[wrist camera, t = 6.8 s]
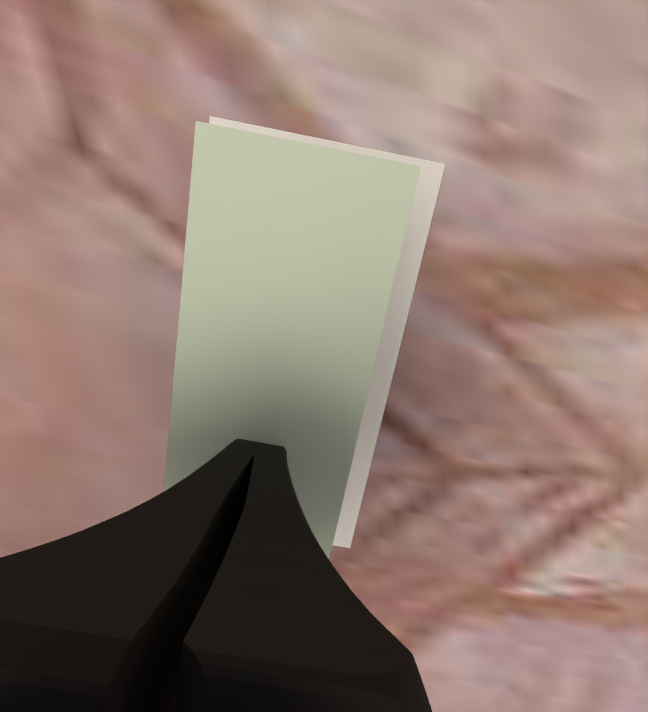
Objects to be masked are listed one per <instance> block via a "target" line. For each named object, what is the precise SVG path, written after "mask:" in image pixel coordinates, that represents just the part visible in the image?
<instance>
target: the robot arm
mask: <svg viewBox="0 0 648 712" xmlns="http://www.w3.org/2000/svg"><path fill="white" fill-rule="evenodd" d="M0 712H432V710H431V706H430V703H429V700H428V697H427V694H426V691H425V688H424V685H423V682H422V679H421V676H420V674H419V671H418V668H417V665H416V662H415V660H414V657H413V655H412V653H411V652H410V651H409V650H408V649H407V648H406V647H405V646H404V645H403V644H402V643H401V642H400V641H399V640H398V639H397V638H396V637H395V636H394V635H393V634H392V633H391V632H390V631H388V630H387V629H386V628H385V627H384V626H383V625H382V624H381V623H380V622H379V621H378V620H377V619H376V618H375V617H374V616H373V615H372V614H371V613H370V612H369V611H368V609H367V608H366V607H365V606H364V605H363V604H362V602H361V601H360V600H359V599H358V598H357V597H356V596H355V594H354V593H353V592H352V591H351V590H350V588H349V587H348V586H347V584H346V583H345V581H344V580H343V579H342V577H341V576H340V575H339V573H338V572H337V571H336V569H335V568H334V567H333V565H332V564H331V562H330V561H329V559H328V558H327V556H326V554H325V553H324V551H323V550H322V548H321V546H320V545H319V543H318V541H317V539H316V537H315V536H314V534H313V532H312V530H311V528H310V526H309V524H308V522H307V520H306V518H305V515H304V513H303V511H302V508H301V506H300V503H299V501H298V498H297V496H296V493H295V490H294V487H293V483H292V480H291V477H290V473H289V468H288V463H287V451H286V449H285V448H284V446H278V445H272V444H267V443H261V442H255V441H250V440H244V439H238V438H237V439H236V440H234V441H233V442H231V443H230V444H229V445H228V446H226V447H225V448H224V449H223V450H222V451H220V452H219V453H218V454H217V455H215V456H214V457H213V458H212V459H210V460H209V461H208V462H206V463H205V464H204V465H202V466H201V467H200V468H198V469H197V470H195V471H194V472H193V473H191V474H190V475H189V476H187V477H186V478H184V479H183V480H181V481H179V482H178V483H176V484H175V485H173V486H172V487H170V488H169V489H167V490H166V491H164V492H162V493H161V494H159V495H157V496H156V497H154V498H152V499H150V500H148V501H146V502H144V503H142V504H141V505H139V506H137V507H135V508H133V509H131V510H129V511H127V512H125V513H122V514H120V515H118V516H115V517H113V518H111V519H108V520H106V521H104V522H101V523H99V524H97V525H94V526H92V527H90V528H87V529H85V530H82V531H80V532H77V533H75V534H72V535H69V536H66V537H64V538H61V539H58V540H55V541H52V542H50V543H46V544H43V545H40V546H37V547H34V548H31V549H28V550H25V551H22V552H18V553H15V554H12V555H8V556H5V557H1V558H0Z"/></svg>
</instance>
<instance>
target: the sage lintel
mask: <svg viewBox="0 0 648 712" xmlns="http://www.w3.org/2000/svg"><path fill="white" fill-rule="evenodd" d="M420 168H421V166H416V165H411V164H406V163H401V162H396V161H391V160H386V159H381V158H376V157H372V156H367V155H362V154H357V153H352V152H347V151H342V150H337V149H332V148H327V147H322V146H317V145H312V144H307V143H302V142H298V141H293V140H288V139H283V138H278V137H273V136H268V135H263V134H258V133H253V132H248V131H243V130H238V129H233V128H228V127H224V126H219V125H214V124H209V123H204V122H199V121H196V127H195V138H194V150H193V161H192V173H191V184H190V196H189V207H188V219H187V230H186V242H185V254H184V265H183V277H182V288H181V300H180V311H179V323H178V334H177V346H176V357H175V369H174V380H173V392H172V403H171V415H170V427H169V438H168V450H167V461H166V473H165V484H164V491H166V490H167V489H169V488H170V487H172V486H173V485H175V484H176V483H178V482H179V481H181V480H183V479H184V478H186V477H187V476H189V475H190V474H191V473H193V472H194V471H195V470H197V469H198V468H200V467H201V466H202V465H204V464H205V463H206V462H208V461H209V460H210V459H212V458H213V457H214V456H215V455H217V454H218V453H219V452H220V451H222V450H223V449H224V448H225V447H226V446H228V445H229V444H230V443H231V442H233V441H234V440H236V439H237V438H238V439H244V440H250V441H255V442H261V443H267V444H272V445H278V446H284V448H285V449H286V451H287V463H288V468H289V473H290V477H291V480H292V483H293V487H294V490H295V493H296V496H297V498H298V501H299V503H300V506H301V508H302V511H303V513H304V515H305V518H306V520H307V522H308V524H309V526H310V528H311V530H312V532H313V534H314V536H315V537H316V539H317V541H318V543H319V545H320V546H321V548H322V550H323V551H324V553H325V554H326V556H327V558H328V559H329V558H330V554H331V550H332V545H333V541H334V537H335V533H336V528H337V524H338V520H339V515H340V511H341V507H342V503H343V498H344V494H345V490H346V485H347V481H348V477H349V473H350V468H351V464H352V460H353V455H354V451H355V447H356V443H357V438H358V434H359V430H360V425H361V421H362V417H363V413H364V408H365V404H366V400H367V395H368V391H369V387H370V383H371V378H372V374H373V370H374V365H375V361H376V357H377V353H378V348H379V344H380V340H381V335H382V331H383V327H384V323H385V318H386V314H387V310H388V305H389V301H390V297H391V293H392V288H393V284H394V280H395V275H396V271H397V267H398V263H399V258H400V254H401V250H402V245H403V241H404V237H405V233H406V228H407V224H408V220H409V215H410V211H411V207H412V203H413V198H414V194H415V190H416V185H417V181H418V177H419V172H420Z"/></svg>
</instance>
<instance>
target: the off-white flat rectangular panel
mask: <svg viewBox="0 0 648 712" xmlns="http://www.w3.org/2000/svg"><path fill="white" fill-rule="evenodd" d="M209 124H214V125H219V126H224V127H228V128H233V129H238V130H243V131H248V132H253V133H258V134H263V135H268V136H273V137H278V138H283V139H288V140H293V141H298V142H302V143H307V144H312V145H317V146H322V147H327V148H332V149H337V150H342V151H347V152H352V153H357V154H362V155H367V156H372V157H376V158H381V159H386V160H391V161H396V162H401V163H406V164H411V165H416V166H421V168H420V172H419V177H418V181H417V185H416V190H415V194H414V198H413V203H412V207H411V211H410V215H409V220H408V224H407V228H406V233H405V237H404V241H403V245H402V250H401V254H400V258H399V263H398V267H397V271H396V275H395V280H394V284H393V288H392V293H391V297H390V301H389V305H388V310H387V314H386V318H385V323H384V327H383V331H382V335H381V340H380V344H379V348H378V353H377V357H376V361H375V365H374V370H373V374H372V378H371V383H370V387H369V391H368V395H367V400H366V404H365V408H364V413H363V417H362V421H361V425H360V430H359V434H358V438H357V443H356V447H355V451H354V455H353V460H352V464H351V468H350V473H349V477H348V481H347V485H346V490H345V494H344V498H343V503H342V507H341V511H340V515H339V520H338V524H337V528H336V533H335V537H334V541H333V545H334V546H340V547H346V548H350V546H351V542H352V538H353V534H354V530H355V526H356V522H357V518H358V514H359V510H360V506H361V502H362V498H363V494H364V490H365V486H366V482H367V478H368V474H369V470H370V466H371V462H372V458H373V454H374V450H375V446H376V442H377V438H378V433H379V429H380V425H381V421H382V417H383V413H384V409H385V405H386V401H387V397H388V393H389V389H390V385H391V381H392V377H393V373H394V369H395V365H396V361H397V357H398V353H399V349H400V345H401V341H402V337H403V333H404V329H405V325H406V321H407V317H408V313H409V309H410V305H411V301H412V297H413V293H414V289H415V284H416V280H417V276H418V272H419V268H420V264H421V260H422V256H423V252H424V248H425V244H426V240H427V236H428V232H429V228H430V224H431V220H432V216H433V212H434V208H435V204H436V200H437V196H438V192H439V188H440V184H441V180H442V176H443V172H444V168H445V164H443V163H438V162H433V161H428V160H424V159H419V158H414V157H409V156H404V155H399V154H394V153H389V152H384V151H379V150H374V149H369V148H364V147H360V146H355V145H350V144H345V143H340V142H335V141H330V140H325V139H320V138H315V137H310V136H305V135H300V134H296V133H291V132H286V131H281V130H276V129H271V128H266V127H261V126H256V125H251V124H246V123H241V122H236V121H231V120H227V119H222V118H217V117H212V116H210V122H209Z"/></svg>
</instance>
